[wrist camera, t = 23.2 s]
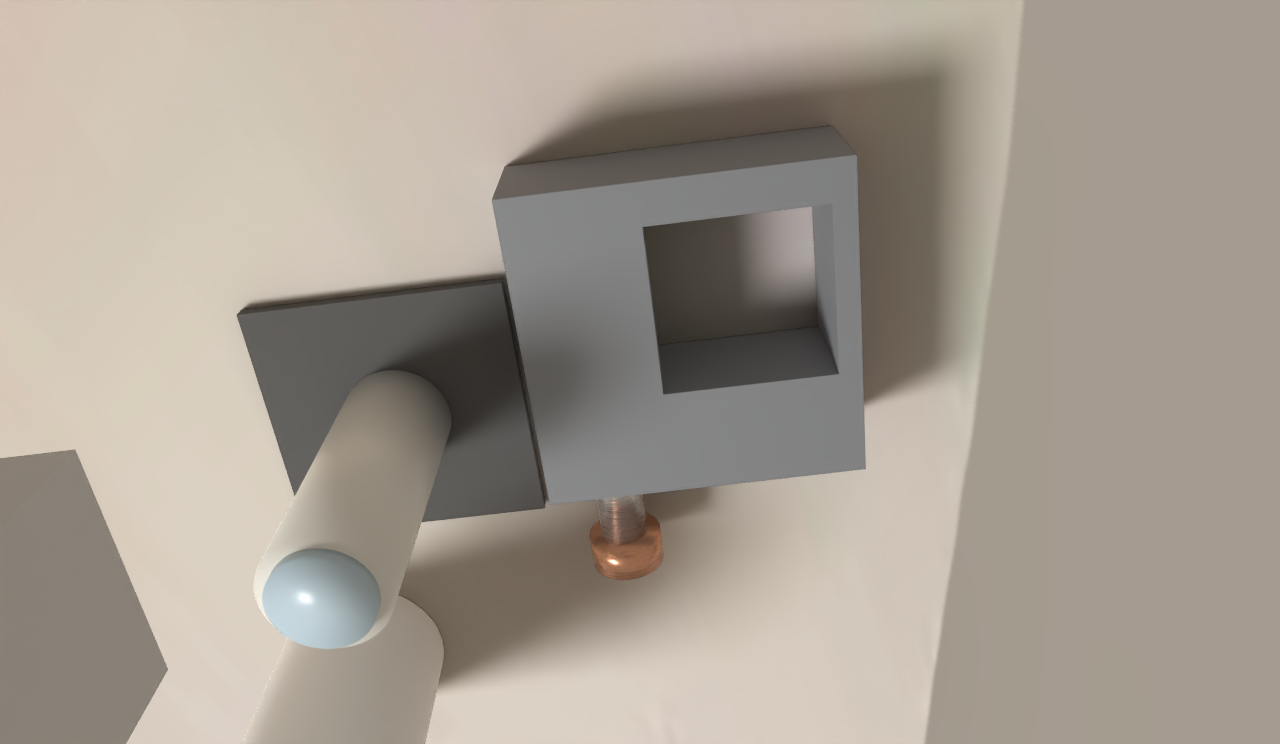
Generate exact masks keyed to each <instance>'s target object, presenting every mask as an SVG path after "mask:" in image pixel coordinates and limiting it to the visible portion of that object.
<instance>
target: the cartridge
mask: <svg viewBox="0 0 1280 744" xmlns="http://www.w3.org/2000/svg"><path fill="white" fill-rule="evenodd" d="M450 430H451V412H450V409H449V405H448V403H447V401H446V399H445V398H444V396H443V395H442V393H441V392H440V391H439V390H438V389H437V388H436V387H435V386H434V385H433V384H432V383H431V382H429V381H428V380H426V379H424V378H423V377H421V376H419V375H416V374H414V373H410V372H407V371H401V370H384V371H379V372H376V373H373V374H370V375H368V376H366V377H365V378H363V379H362V380H360V381H359V382H358V383H357V384H356V385H355V386H354V387H353V388H352V390H351V391H350V393H349V395H348V397H347V399H346V400H345V402H344V404H343V406H342V408H341V410H340V412H339V414H338V416H337V417H336V419H335V421H334V423H333V425H332V427H331V429H330V431H329V433H328V434H327V436H326V438H325V440H324V442H323V444H322V446H321V448H320V450H319V452H318V453H317V455H316V457H315V459H314V461H313V463H312V465H311V467H310V469H309V470H308V472H307V474H306V476H305V478H304V480H303V482H302V484H301V486H300V487H299V489H298V491H297V493H296V495H295V497H294V499H293V501H292V503H291V504H290V506H289V508H288V510H287V512H286V514H285V516H284V518H283V520H282V522H281V523H280V525H279V527H278V529H277V531H276V533H275V535H274V537H273V539H272V540H271V542H270V544H269V546H268V548H267V550H266V552H265V554H264V556H263V557H262V559H261V561H260V563H259V565H258V567H257V570H256V572H255V576H254V585H253V588H254V595H255V598H256V602H257V604H258V606H259V608H260V610H261V612H262V613H263V615H264V616H265V617H266V618H267V620H268V621H269V622H270V623H271V624H272V625H273V626H274V627H275V628H276V629H277V630H278V631H279V632H280V633H282V634H283V635H285V636H286V637H288V638H289V639H291V640H293V641H295V642H297V643H299V644H302V645H305V646H309V647H313V648H320V649H335V648H344V647H350V646H354V645H358V644H361V643H363V642H365V641H368V640H369V639H371V638H373V637H374V636H376V635H377V634H378V633H380V632H381V631H382V629H383V628H384V627H385V626H386V625H387V623H388V622H389V620H390V618H391V616H392V614H393V610H394V607H395V604H396V601H397V598H398V595H399V591H400V588H401V585H402V582H403V579H404V576H405V572H406V569H407V566H408V563H409V560H410V557H411V553H412V550H413V547H414V544H415V541H416V538H417V534H418V531H419V528H420V525H421V522H422V519H423V515H424V512H425V509H426V506H427V503H428V500H429V496H430V493H431V490H432V487H433V484H434V481H435V477H436V474H437V471H438V468H439V465H440V462H441V458H442V455H443V452H444V449H445V446H446V443H447V439H448V436H449V433H450Z"/></svg>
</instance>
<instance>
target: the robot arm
mask: <svg viewBox="0 0 1280 744" xmlns="http://www.w3.org/2000/svg"><path fill="white" fill-rule="evenodd" d="M167 670H168V668H167V666H166V663H165V661H164V659H163V656H162V654H161V652H160V649H159V647H158V644H157V642H156V640H155V637H154V635H153V633H152V630H151V628H150V626H149V623H148V621H147V618H146V616H145V614H144V611H143V609H142V607H141V604H140V602H139V600H138V597H137V595H136V592H135V590H134V588H133V585H132V583H131V581H130V578H129V576H128V573H127V571H126V569H125V566H124V564H123V562H122V559H121V557H120V555H119V552H118V550H117V547H116V545H115V543H114V540H113V538H112V536H111V533H110V531H109V529H108V526H107V524H106V521H105V519H104V517H103V514H102V512H101V510H100V507H99V505H98V503H97V500H96V498H95V495H94V493H93V491H92V488H91V486H90V484H89V481H88V479H87V476H86V474H85V472H84V469H83V467H82V465H81V462H80V460H79V458H78V455H77V453H76V450H68V451H59V452H51V453H42V454H34V455H25V456H17V457H8V458H0V744H126V743H127V741H128V739H129V737H130V736H131V734H132V732H133V730H134V729H135V727H136V725H137V723H138V721H139V720H140V718H141V716H142V714H143V713H144V711H145V709H146V707H147V706H148V704H149V702H150V700H151V698H152V697H153V695H154V693H155V691H156V690H157V688H158V686H159V684H160V683H161V681H162V679H163V677H164V676H165V674H166V672H167Z"/></svg>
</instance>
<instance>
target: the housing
mask: <svg viewBox="0 0 1280 744" xmlns="http://www.w3.org/2000/svg"><path fill="white" fill-rule="evenodd" d="M492 204H493V209H494V214H495V220H496V225H497V230H498V235H499V241H500V246H501V251H502V256H503V262H504V267H505V272H506V277H507V283H508V288H509V293H510V298H511V304H512V309H513V314H514V319H515V325H516V330H517V335H518V340H519V346H520V351H521V356H522V361H523V367H524V372H525V377H526V382H527V388H528V393H529V398H530V403H531V409H532V414H533V419H534V424H535V430H536V435H537V440H538V445H539V451H540V456H541V461H542V466H543V472H544V477H545V482H546V487H547V493H548V498H549V503H550V505H552V504H561V503H569V502H578V501H587V500H596V499H605V498H614V497H622V496H631V495H640V494H649V493H658V492H667V491H675V490H684V489H693V488H702V487H711V486H720V485H728V484H737V483H746V482H755V481H764V480H773V479H781V478H790V477H799V476H808V475H817V474H826V473H834V472H843V471H852V470H861V469H866V463H865V427H864V391H863V355H862V319H861V283H860V247H859V211H858V174H857V154H856V153H855V152H854V151H853V150H852V148H851V147H850V146H849V145H848V144H847V142H846V141H845V140H844V139H843V138H842V137H841V135H840V134H839V133H838V132H837V131H836V130H835V128H834V127H833V126H824V127H816V128H808V129H800V130H792V131H784V132H776V133H768V134H760V135H752V136H744V137H736V138H728V139H720V140H712V141H704V142H696V143H688V144H680V145H672V146H664V147H656V148H649V149H641V150H633V151H625V152H617V153H609V154H601V155H593V156H585V157H577V158H569V159H561V160H553V161H545V162H537V163H529V164H521V165H513V166H505V167H504V170H503V172H502V175H501V178H500V180H499V183H498V185H497V188H496V190H495V193H494V196H493V198H492ZM810 206H812V213H813V234H814V254H815V275H816V296H817V317H818V327H810V328H802V329H793V330H785V331H776V332H768V333H759V334H751V335H743V336H734V337H726V338H717V339H709V340H700V341H692V342H683V343H675V344H666V345H659V341H658V333H657V325H656V317H655V309H654V301H653V293H652V285H651V277H650V269H649V261H648V253H647V245H646V237H645V228H644V227H647V226H655V225H663V224H671V223H680V222H688V221H696V220H704V219H712V218H720V217H729V216H737V215H745V214H753V213H761V212H769V211H778V210H786V209H794V208H802V207H810Z"/></svg>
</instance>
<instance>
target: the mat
mask: <svg viewBox="0 0 1280 744" xmlns="http://www.w3.org/2000/svg"><path fill="white" fill-rule="evenodd" d="M237 318H238V321H239V324H240V327H241V330H242V333H243V336H244V339H245V342H246V346H247V349H248V352H249V355H250V358H251V361H252V364H253V367H254V371H255V374H256V377H257V380H258V383H259V386H260V389H261V392H262V396H263V399H264V402H265V405H266V408H267V411H268V414H269V417H270V421H271V424H272V427H273V430H274V433H275V436H276V439H277V442H278V446H279V449H280V452H281V455H282V458H283V461H284V464H285V467H286V470H287V474H288V477H289V480H290V483H291V486H292V489H293V492H294V495H296V493H297V491H298V489H299V487H300V486H301V484H302V482H303V480H304V478H305V476H306V474H307V472H308V470H309V469H310V467H311V465H312V463H313V461H314V459H315V457H316V455H317V453H318V452H319V450H320V448H321V446H322V444H323V442H324V440H325V438H326V436H327V434H328V433H329V431H330V429H331V427H332V425H333V423H334V421H335V419H336V417H337V416H338V414H339V412H340V410H341V408H342V406H343V404H344V402H345V400H346V399H347V397H348V395H349V393H350V391H351V390H352V388H353V387H354V386H355V385H356V384H357V383H358V382H359V381H360V380H362V379H363V378H365V377H366V376H368V375H370V374H373V373H376V372H379V371H384V370H401V371H407V372H410V373H414V374H416V375H419V376H421V377H423V378H424V379H426V380H428V381H429V382H431V383H432V384H433V385H434V386H435V387H436V388H437V389H438V390H439V391H440V392H441V393H442V395H443V396H444V398H445V399H446V401H447V403H448V405H449V409H450V412H451V430H450V433H449V436H448V439H447V443H446V446H445V449H444V452H443V455H442V458H441V462H440V465H439V468H438V471H437V474H436V477H435V481H434V484H433V487H432V490H431V493H430V496H429V500H428V503H427V506H426V509H425V512H424V515H423V519H422V522H427V521H436V520H445V519H454V518H462V517H471V516H480V515H489V514H498V513H507V512H515V511H524V510H533V509H542V508H545V502H546V501H545V496H544V491H543V486H542V480H541V475H540V470H539V465H538V460H537V454H536V449H535V444H534V439H533V434H532V428H531V423H530V418H529V413H528V408H527V402H526V397H525V392H524V387H523V382H522V376H521V371H520V366H519V361H518V356H517V350H516V345H515V340H514V335H513V330H512V324H511V319H510V314H509V309H508V304H507V298H506V293H505V288H504V283H503V278H501V279H492V280H484V281H476V282H468V283H459V284H451V285H443V286H435V287H426V288H418V289H410V290H402V291H394V292H385V293H377V294H369V295H361V296H352V297H344V298H336V299H328V300H319V301H311V302H303V303H295V304H286V305H278V306H270V307H262V308H253V309H245V310H241V311H240V312H239V313H238V314H237Z"/></svg>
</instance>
